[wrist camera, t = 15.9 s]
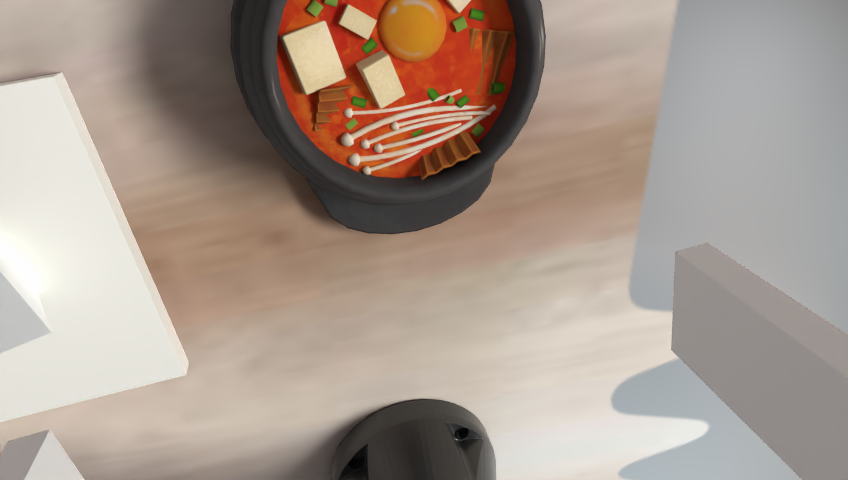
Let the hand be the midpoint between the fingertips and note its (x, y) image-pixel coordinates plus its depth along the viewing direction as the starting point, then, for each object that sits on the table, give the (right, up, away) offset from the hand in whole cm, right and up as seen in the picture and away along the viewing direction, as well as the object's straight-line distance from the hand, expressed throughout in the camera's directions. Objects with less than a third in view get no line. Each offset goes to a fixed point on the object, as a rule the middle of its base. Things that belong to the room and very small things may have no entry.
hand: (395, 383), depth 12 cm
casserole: (-2, +16, +25) cm, 29 cm away
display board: (-28, +1, +25) cm, 37 cm away
